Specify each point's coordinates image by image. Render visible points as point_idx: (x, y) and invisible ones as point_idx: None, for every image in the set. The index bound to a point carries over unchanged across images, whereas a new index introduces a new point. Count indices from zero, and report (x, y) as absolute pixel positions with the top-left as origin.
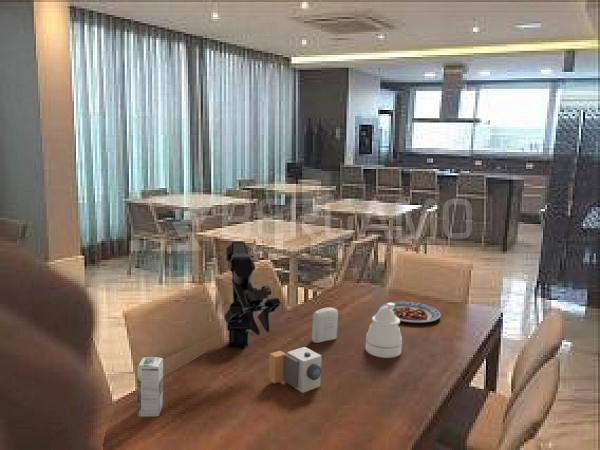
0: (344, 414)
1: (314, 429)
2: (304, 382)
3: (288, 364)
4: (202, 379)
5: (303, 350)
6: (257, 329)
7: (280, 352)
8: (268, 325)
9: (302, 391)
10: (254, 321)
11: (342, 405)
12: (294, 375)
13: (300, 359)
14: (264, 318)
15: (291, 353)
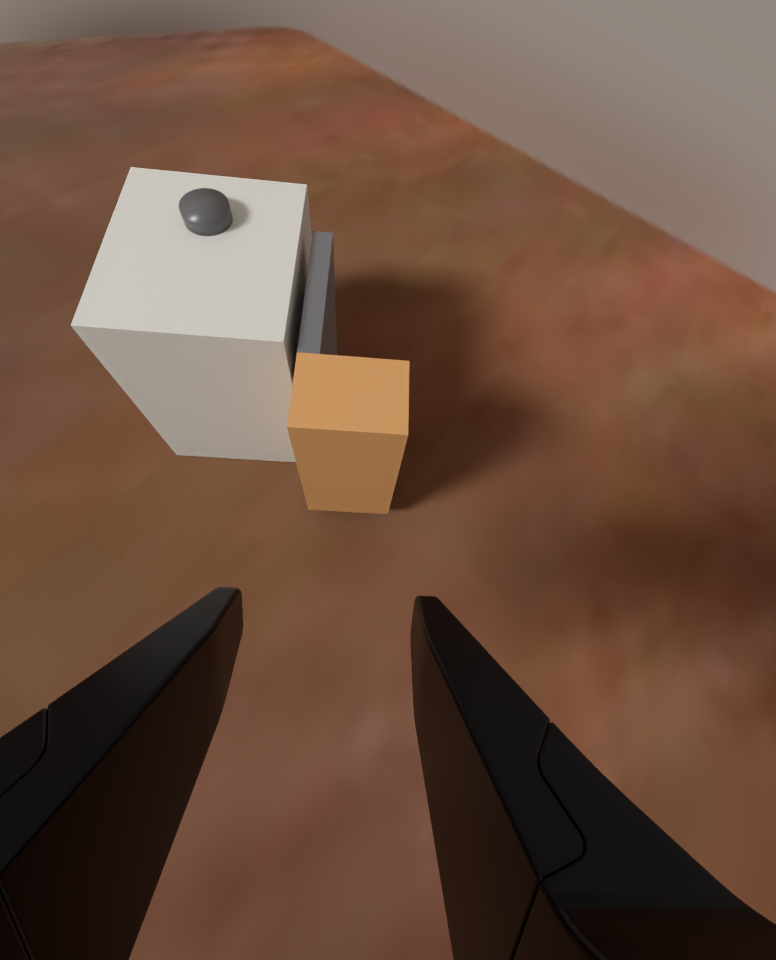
0: (312, 172)
1: (463, 182)
2: None
3: (327, 343)
4: (732, 839)
5: (150, 286)
6: (451, 631)
7: (314, 396)
8: (162, 636)
9: None
10: (512, 771)
11: None
12: (334, 325)
13: (301, 211)
14: (78, 830)
15: (276, 304)
